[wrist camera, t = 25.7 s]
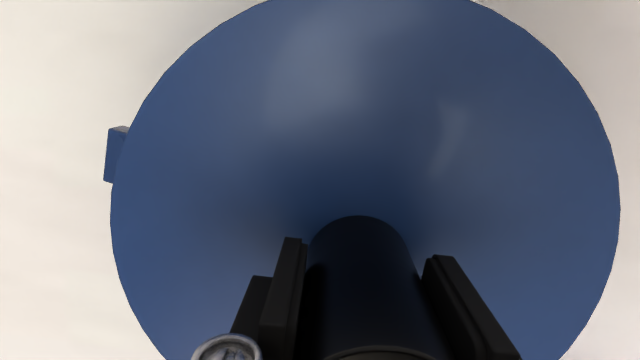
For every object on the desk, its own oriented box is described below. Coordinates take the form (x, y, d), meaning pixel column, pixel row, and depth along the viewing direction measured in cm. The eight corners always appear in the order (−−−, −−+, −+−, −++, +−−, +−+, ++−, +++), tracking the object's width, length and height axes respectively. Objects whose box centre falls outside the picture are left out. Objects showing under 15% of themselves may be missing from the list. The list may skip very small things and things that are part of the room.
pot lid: (164, -88, 10) (-174, -425, 3) (700, 85, 11) (1291, 96, 4) (105, 363, 15) (-78, 592, 8) (475, 458, 16) (580, 735, 9)
